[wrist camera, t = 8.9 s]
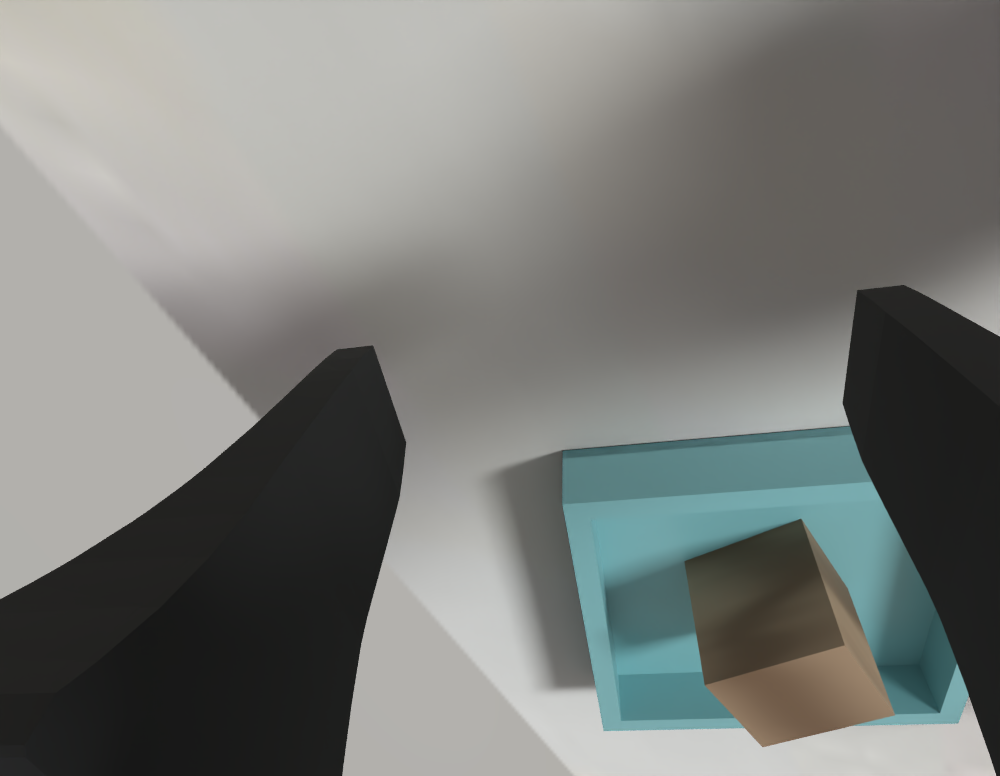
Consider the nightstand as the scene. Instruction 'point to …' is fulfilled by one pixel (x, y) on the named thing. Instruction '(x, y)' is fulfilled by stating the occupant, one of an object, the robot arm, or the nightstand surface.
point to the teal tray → (718, 523)
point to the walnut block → (783, 638)
